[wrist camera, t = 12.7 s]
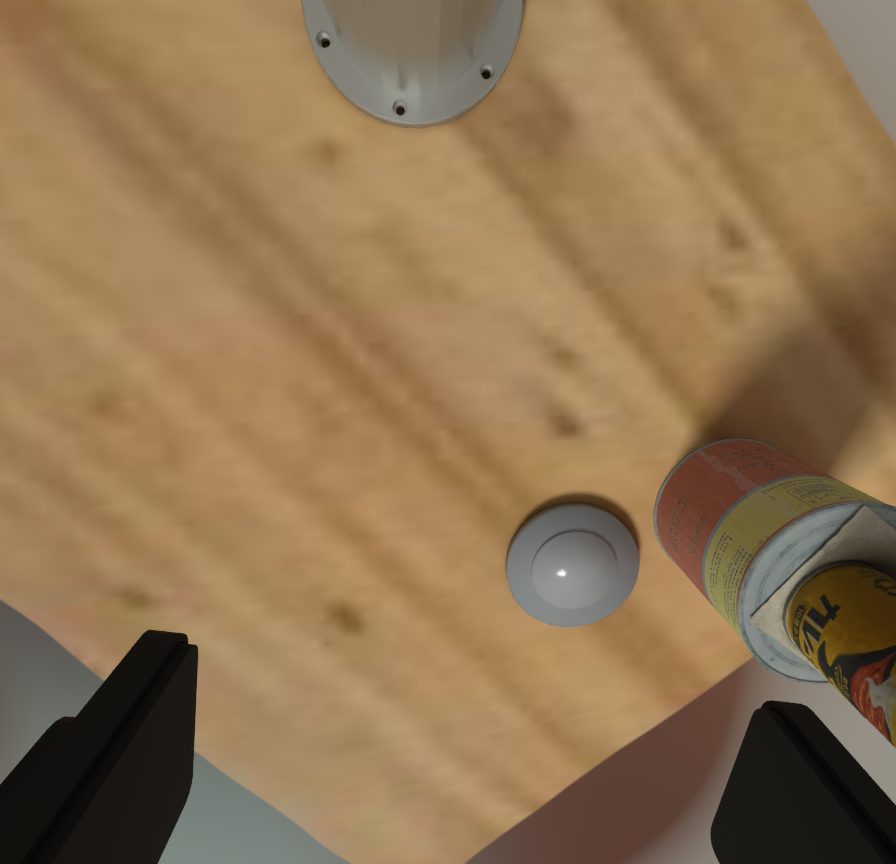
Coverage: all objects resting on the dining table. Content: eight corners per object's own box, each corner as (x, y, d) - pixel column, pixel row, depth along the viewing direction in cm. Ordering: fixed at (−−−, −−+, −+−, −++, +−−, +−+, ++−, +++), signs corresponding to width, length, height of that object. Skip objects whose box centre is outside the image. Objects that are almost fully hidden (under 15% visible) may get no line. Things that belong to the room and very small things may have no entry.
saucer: (519, 494, 41) (522, 500, 39) (648, 512, 41) (655, 519, 40) (494, 611, 43) (496, 621, 42) (617, 626, 44) (622, 636, 43)
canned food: (746, 596, 44) (860, 711, 32) (625, 541, 42) (700, 641, 30) (831, 476, 41) (988, 553, 29) (706, 412, 39) (821, 468, 28)
